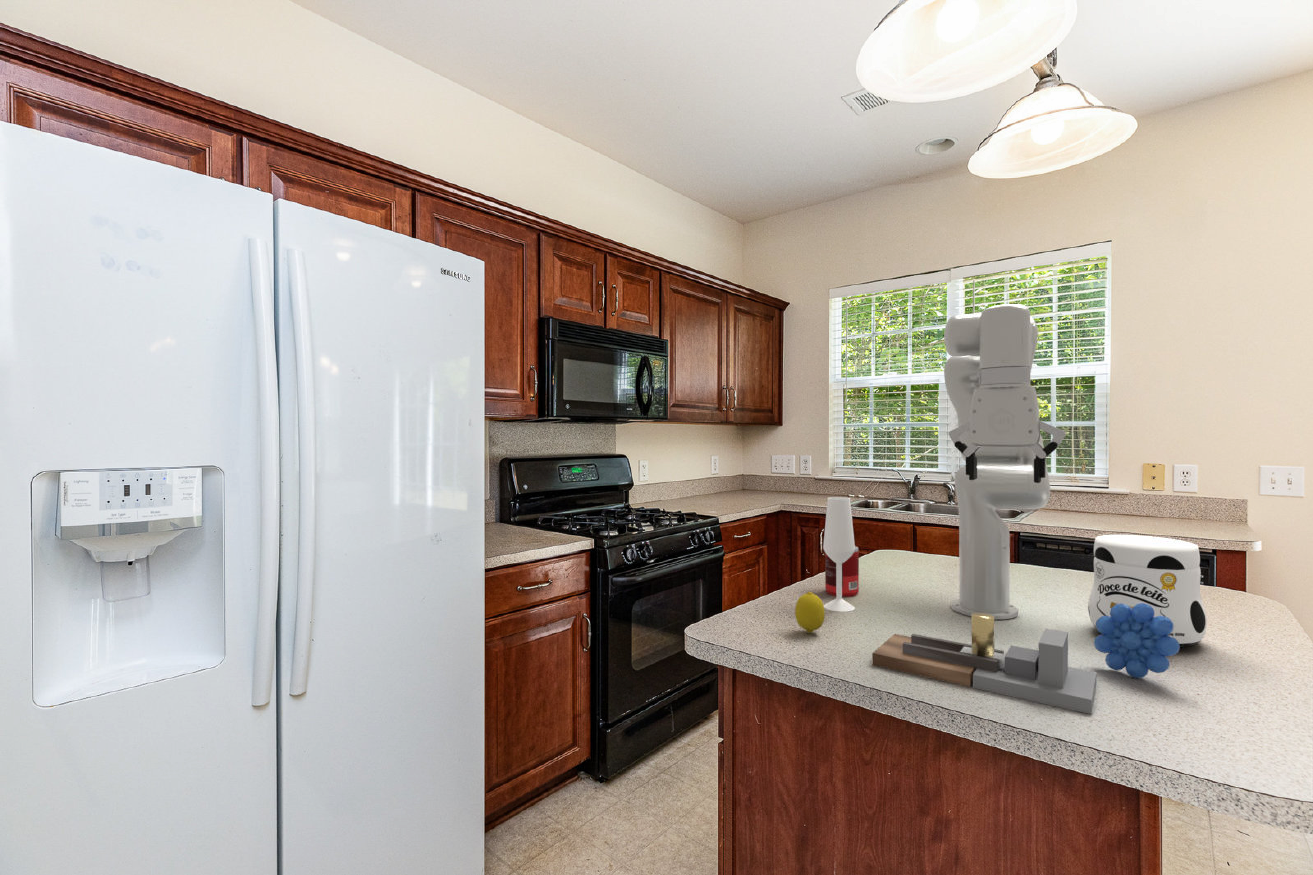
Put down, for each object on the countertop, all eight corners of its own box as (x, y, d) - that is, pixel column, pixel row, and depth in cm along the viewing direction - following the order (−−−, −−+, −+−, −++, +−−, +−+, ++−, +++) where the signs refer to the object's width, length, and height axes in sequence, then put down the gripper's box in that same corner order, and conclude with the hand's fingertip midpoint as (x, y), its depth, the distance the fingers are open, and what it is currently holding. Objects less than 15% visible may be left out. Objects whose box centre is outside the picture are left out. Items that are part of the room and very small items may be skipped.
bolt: (964, 655, 102) (964, 610, 102) (1035, 669, 96) (1035, 621, 96) (959, 661, 100) (959, 615, 100) (1032, 675, 94) (1032, 626, 94)
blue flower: (1193, 685, 95) (1194, 607, 95) (1170, 694, 92) (1170, 613, 92) (1109, 660, 105) (1109, 589, 105) (1085, 667, 102) (1086, 594, 102)
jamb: (987, 663, 104) (988, 615, 104) (1096, 685, 95) (1096, 633, 95) (972, 687, 95) (972, 635, 95) (1091, 714, 86) (1091, 656, 86)
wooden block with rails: (894, 644, 114) (894, 625, 114) (1007, 667, 103) (1007, 645, 103) (872, 665, 104) (872, 643, 104) (993, 692, 93) (993, 668, 93)
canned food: (859, 589, 152) (859, 544, 152) (858, 598, 144) (858, 551, 144) (826, 587, 154) (826, 543, 154) (824, 595, 147) (823, 549, 147)
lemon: (825, 638, 117) (825, 596, 117) (795, 637, 118) (795, 595, 118) (823, 629, 123) (823, 588, 122) (795, 627, 124) (794, 587, 124)
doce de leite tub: (1104, 648, 111) (1105, 547, 111) (1076, 620, 127) (1077, 531, 127) (1226, 660, 105) (1227, 553, 105) (1181, 628, 121) (1181, 536, 121)
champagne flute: (825, 601, 142) (824, 496, 141) (856, 604, 139) (855, 497, 139) (821, 609, 136) (821, 499, 135) (854, 613, 133) (853, 500, 133)
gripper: (944, 381, 108) (944, 480, 108) (1063, 375, 97) (1063, 485, 98) (954, 383, 114) (954, 477, 114) (1067, 378, 103) (1067, 481, 104)
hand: (1004, 480), depth 106 cm, fingers open, 9 cm apart
